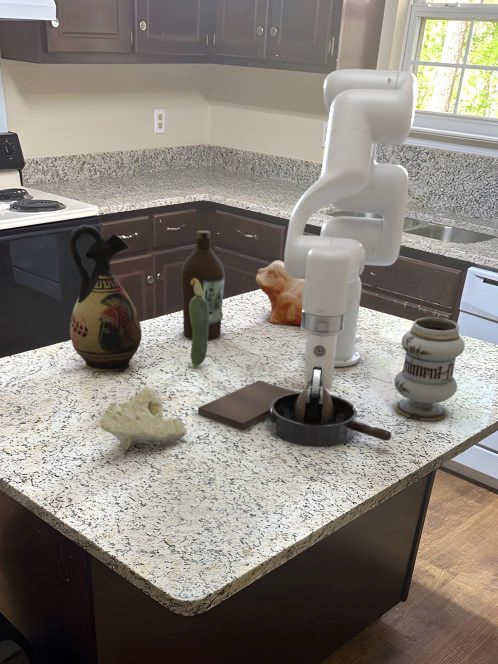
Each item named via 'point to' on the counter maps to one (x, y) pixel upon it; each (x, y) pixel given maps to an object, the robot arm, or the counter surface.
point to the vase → (325, 411)
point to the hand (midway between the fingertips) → (313, 413)
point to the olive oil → (203, 284)
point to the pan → (311, 435)
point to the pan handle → (370, 430)
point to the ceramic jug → (103, 307)
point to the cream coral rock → (141, 420)
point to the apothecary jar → (428, 367)
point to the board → (244, 405)
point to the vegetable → (199, 324)
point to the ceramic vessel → (282, 294)
